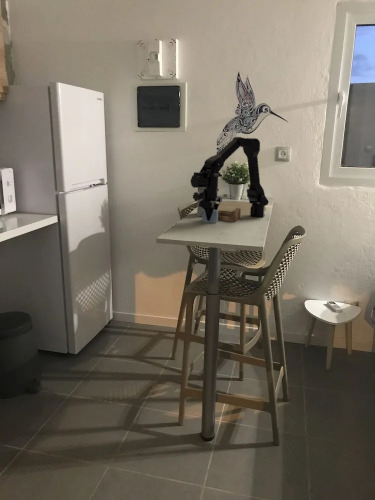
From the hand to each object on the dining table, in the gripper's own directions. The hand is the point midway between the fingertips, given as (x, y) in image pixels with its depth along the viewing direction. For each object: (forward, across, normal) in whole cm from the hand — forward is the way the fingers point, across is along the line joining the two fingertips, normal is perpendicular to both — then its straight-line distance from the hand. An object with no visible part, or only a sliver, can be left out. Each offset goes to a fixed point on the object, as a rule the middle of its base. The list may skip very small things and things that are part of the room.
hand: (210, 219), depth 189 cm
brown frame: (+1, -11, +4) cm, 12 cm away
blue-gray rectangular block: (+1, 0, 0) cm, 1 cm away
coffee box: (+2, -16, -8) cm, 18 cm away
